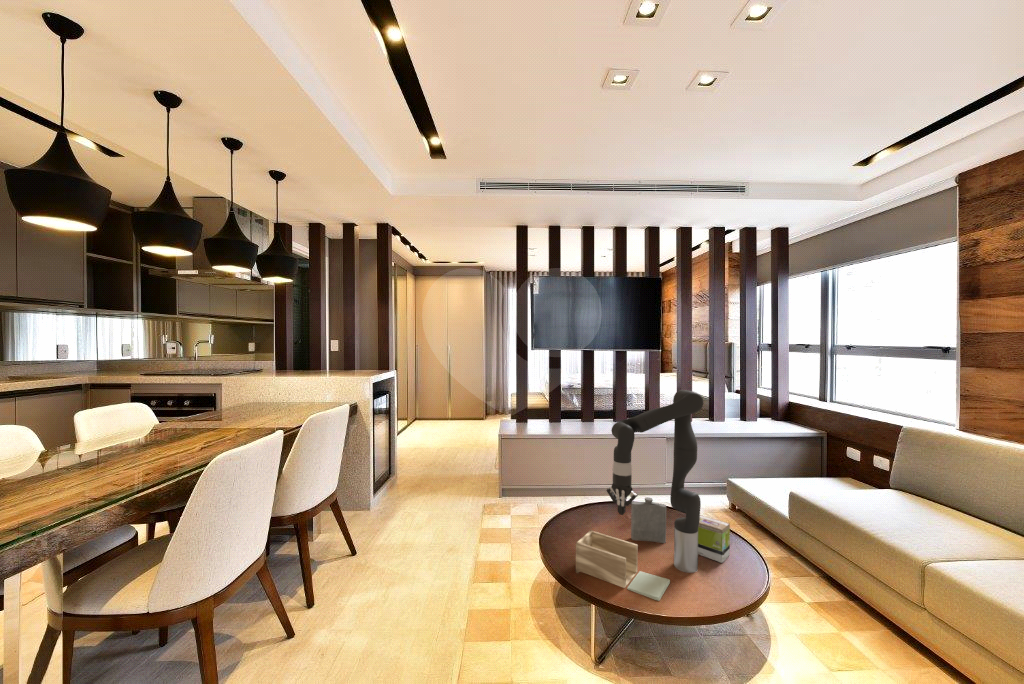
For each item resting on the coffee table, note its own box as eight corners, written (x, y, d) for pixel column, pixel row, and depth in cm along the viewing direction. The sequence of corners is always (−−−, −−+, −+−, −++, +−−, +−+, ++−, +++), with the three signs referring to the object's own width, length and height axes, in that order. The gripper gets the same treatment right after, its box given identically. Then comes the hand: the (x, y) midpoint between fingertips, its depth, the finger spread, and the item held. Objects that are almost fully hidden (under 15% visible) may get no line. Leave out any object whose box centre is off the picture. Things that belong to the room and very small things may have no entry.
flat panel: (639, 570, 170) (669, 579, 163) (639, 573, 170) (670, 582, 163) (627, 587, 158) (658, 597, 151) (627, 590, 158) (659, 600, 151)
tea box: (730, 555, 186) (730, 522, 185) (722, 564, 179) (722, 530, 178) (696, 543, 196) (696, 512, 196) (687, 551, 189) (687, 518, 189)
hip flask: (631, 540, 199) (631, 498, 199) (630, 536, 203) (631, 495, 203) (666, 543, 196) (666, 501, 196) (664, 539, 200) (665, 498, 200)
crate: (590, 558, 183) (590, 530, 183) (637, 574, 170) (637, 544, 170) (575, 572, 172) (575, 542, 171) (624, 591, 159) (625, 559, 159)
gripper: (641, 472, 169) (640, 515, 169) (610, 466, 176) (609, 507, 177) (635, 477, 163) (634, 521, 163) (603, 471, 170) (602, 513, 171)
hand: (621, 514), depth 170 cm, fingers closed
